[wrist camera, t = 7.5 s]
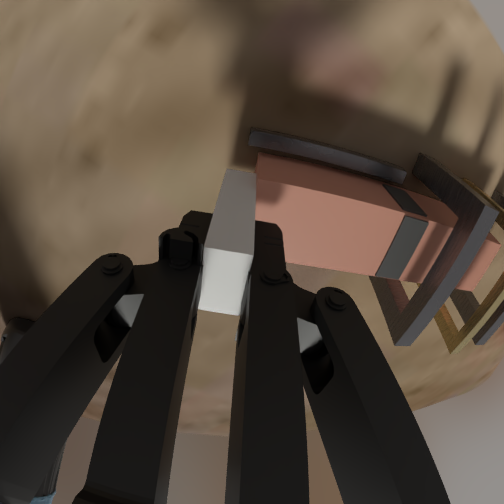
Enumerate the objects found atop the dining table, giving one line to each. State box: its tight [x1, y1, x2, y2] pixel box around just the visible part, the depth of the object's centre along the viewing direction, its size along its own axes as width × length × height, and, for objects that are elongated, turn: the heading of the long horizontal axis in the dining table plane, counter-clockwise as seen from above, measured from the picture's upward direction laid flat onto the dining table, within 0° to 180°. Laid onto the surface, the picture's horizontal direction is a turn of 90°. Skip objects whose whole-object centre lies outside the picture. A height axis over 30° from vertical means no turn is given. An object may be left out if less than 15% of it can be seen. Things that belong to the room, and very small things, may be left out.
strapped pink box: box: [255, 152, 501, 291], centre depth 15 cm, size 16×4×4 cm, turn 80°
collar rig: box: [248, 127, 504, 354], centre depth 14 cm, size 19×9×8 cm, turn 79°
